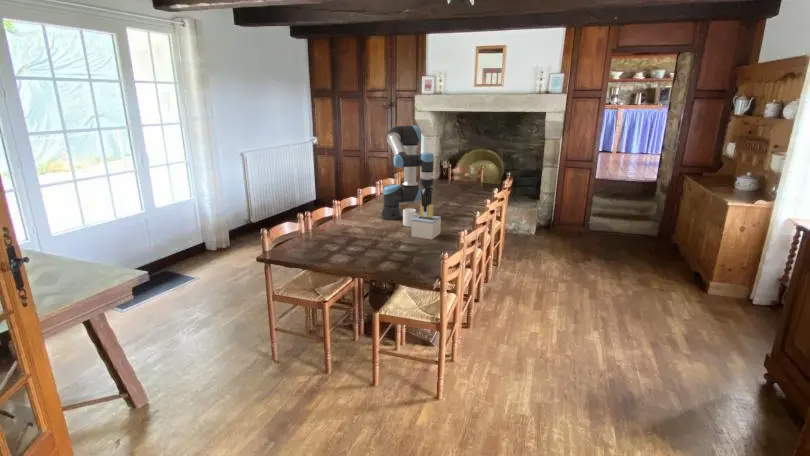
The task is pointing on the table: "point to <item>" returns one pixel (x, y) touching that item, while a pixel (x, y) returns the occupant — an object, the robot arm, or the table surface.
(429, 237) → the coin box
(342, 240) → the table surface
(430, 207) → the block
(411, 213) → the mug
